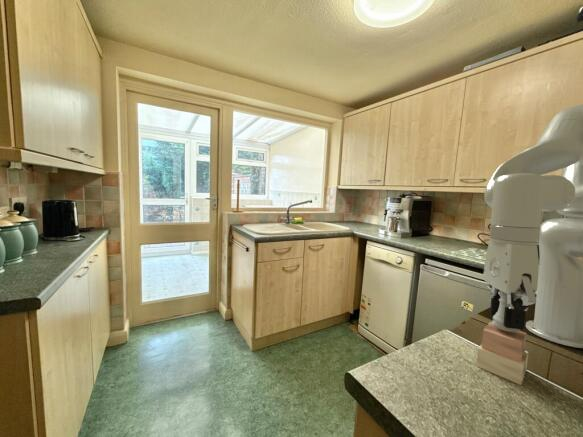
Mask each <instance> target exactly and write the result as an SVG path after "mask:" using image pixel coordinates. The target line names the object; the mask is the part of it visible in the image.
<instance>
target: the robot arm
mask: <svg viewBox="0 0 583 437" xmlns="http://www.w3.org/2000/svg"><path fill="white" fill-rule="evenodd" d="M560 170H561V175H559V174H558V175H557V174H550V173H554V172H556V171H560ZM546 174H549V175H546ZM483 196H484V202H485V203H486V205H487V206H488V207H489V208H491V215H490V228H489V242H488V245H487V250H486V254H485V259H484V260H485V261H484V267H483V275H482V276H483V278H482V279H483V280H484V282H486V283H487V284H488V285H489V287H490V289H491V290H490V293H489V294H490V309H489V310H490V311H489V315H490V316H491V317H493V316H494V315H496V313H497V312H498V309H499V305H500V301H499V299H500V295H499V294H498V292H499V291H502V292H503V293H506V294H507V306H508V307H505V311H504V323H503V325H504V326H505V327H506V328H513V329H520V331H521V330H522V331H523V330H524V329H525V328H526V329H527V330H528V331H529V332H531V333H533V334H534V335H536V336H538V337H540V338H542V339H544V340H547V341H549V342H552V343H556V344H558V345H563V346H567V347H572V348H578V349H583V261H582V260H581V259H580V258H583V104H580V105H579V104H578V105H575V106H571V107H568V108H565V109H563V110H561V111H559V112H557V114H555V115H554V116H552V119H551V120H550V122H549V123H548V124H547V126H546V128H545V129H544V130H543V133H541V135H540V137H539V139H538V140H537V142H536V144H535V145H533V146H530V147H529V148H526V149H525V150H523V151H521V152H519V153H518V154H516V155H514V156H512V157H510V158H508V159H507V160H505V161H504V162H503V163H501V164H500V165H499V166H497V168H496V170H495V171H494V172H493V173H492V175H491V177H490V178H489V180H488V182H487V183H486V186H485V190H484V194H483ZM542 212H557V213H558V214H559V215H562V216H566V218H564V217H563V218H560V217H559V218H551V219H548V220H545V221H543V222H542ZM567 217H568V218H567ZM569 217H573V218H569ZM575 217H576V218H575ZM516 291H518V292H517V293H515V292H516ZM514 296H518V298H517V299H516V300H515V301H514ZM519 297H520V298H519ZM534 304H535V307H534V308H535V309H534V318H533V320H528V321H526V312H527V311H528V310H529V307H530V306H531V305H534Z"/></svg>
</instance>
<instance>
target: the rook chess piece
mask: <svg viewBox="0 0 583 437" xmlns="http://www.w3.org/2000/svg"><path fill="white" fill-rule="evenodd" d="M517 291H518V290H517ZM517 291H516V292H515V293H518V292H517ZM498 294H499V295H500V299H499V301H500V305H499V309H498V312H497V313H496V315H494V316H492V320H491V322H492V323H493V325H494V326H495V327H497V328H499V329H501V330H504V331H508V332H517V331H521V329H513V328H506V327H505V326H504V325H503V323H504V311H505V307H508V306H507V294H506V293H503V292H502V291H499V292H498ZM517 298H518V299H519V297H518V296H514V301H515V300H516V299H517Z"/></svg>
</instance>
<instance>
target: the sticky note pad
mask: <svg viewBox="0 0 583 437" xmlns="http://www.w3.org/2000/svg"><path fill="white" fill-rule="evenodd" d="M526 340H527V332H524V331H523V330H522V331H521V330H519V331H517V332H508V331H504V330H501V329H499V328H497V327H495V326H494V325H493V323H492V321H489V322H488V324H487V325H486V326H485V327H484V328H483V330H482V340H481V344H480V345H479V347H478V348H477V358H476V359H477V360H476V367H478V368H480V369H483V370H485V371H487V372H489V373H492V374H494V375H496V376H497V377H501V378H503V379H505V380H507V381H510V382H513V383H515V384H517V385H520V386H522V384H523V382H522V381H524V379H525V376H526V373H525V372H527V370H528V368H527V367H528V360H529V359H528V358H529V351H527V350H526V342H527V341H526ZM524 375H525V376H524ZM523 378H524V379H523Z"/></svg>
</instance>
